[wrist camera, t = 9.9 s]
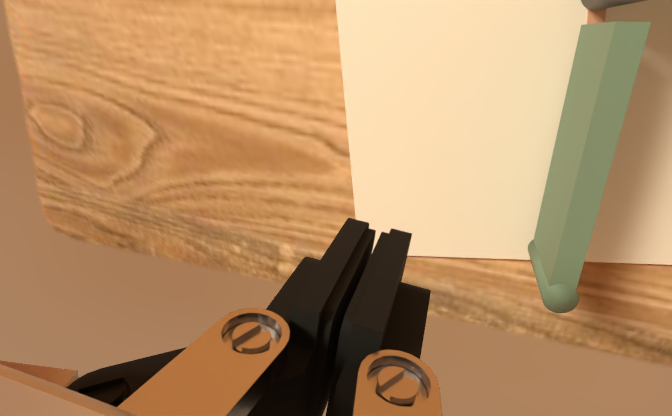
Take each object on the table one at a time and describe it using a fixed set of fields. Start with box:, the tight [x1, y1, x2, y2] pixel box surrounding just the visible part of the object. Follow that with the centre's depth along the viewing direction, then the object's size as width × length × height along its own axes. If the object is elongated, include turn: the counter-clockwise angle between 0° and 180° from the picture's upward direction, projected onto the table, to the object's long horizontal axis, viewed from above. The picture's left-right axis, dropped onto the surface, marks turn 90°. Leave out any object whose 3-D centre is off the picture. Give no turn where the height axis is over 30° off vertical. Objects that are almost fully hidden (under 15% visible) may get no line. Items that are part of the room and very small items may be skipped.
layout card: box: [336, 0, 672, 265], centre depth 23 cm, size 27×20×1 cm
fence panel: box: [528, 21, 651, 313], centre depth 21 cm, size 13×2×6 cm, turn 178°
